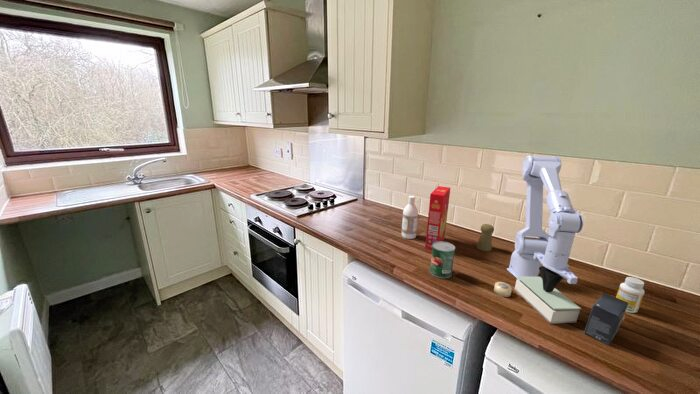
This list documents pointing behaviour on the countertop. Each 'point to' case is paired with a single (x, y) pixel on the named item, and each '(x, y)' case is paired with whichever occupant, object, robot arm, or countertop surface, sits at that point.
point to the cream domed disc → (502, 289)
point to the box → (606, 318)
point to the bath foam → (410, 219)
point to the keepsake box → (545, 306)
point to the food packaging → (437, 216)
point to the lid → (549, 294)
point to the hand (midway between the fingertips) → (547, 290)
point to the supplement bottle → (631, 293)
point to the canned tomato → (442, 259)
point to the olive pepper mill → (485, 238)
